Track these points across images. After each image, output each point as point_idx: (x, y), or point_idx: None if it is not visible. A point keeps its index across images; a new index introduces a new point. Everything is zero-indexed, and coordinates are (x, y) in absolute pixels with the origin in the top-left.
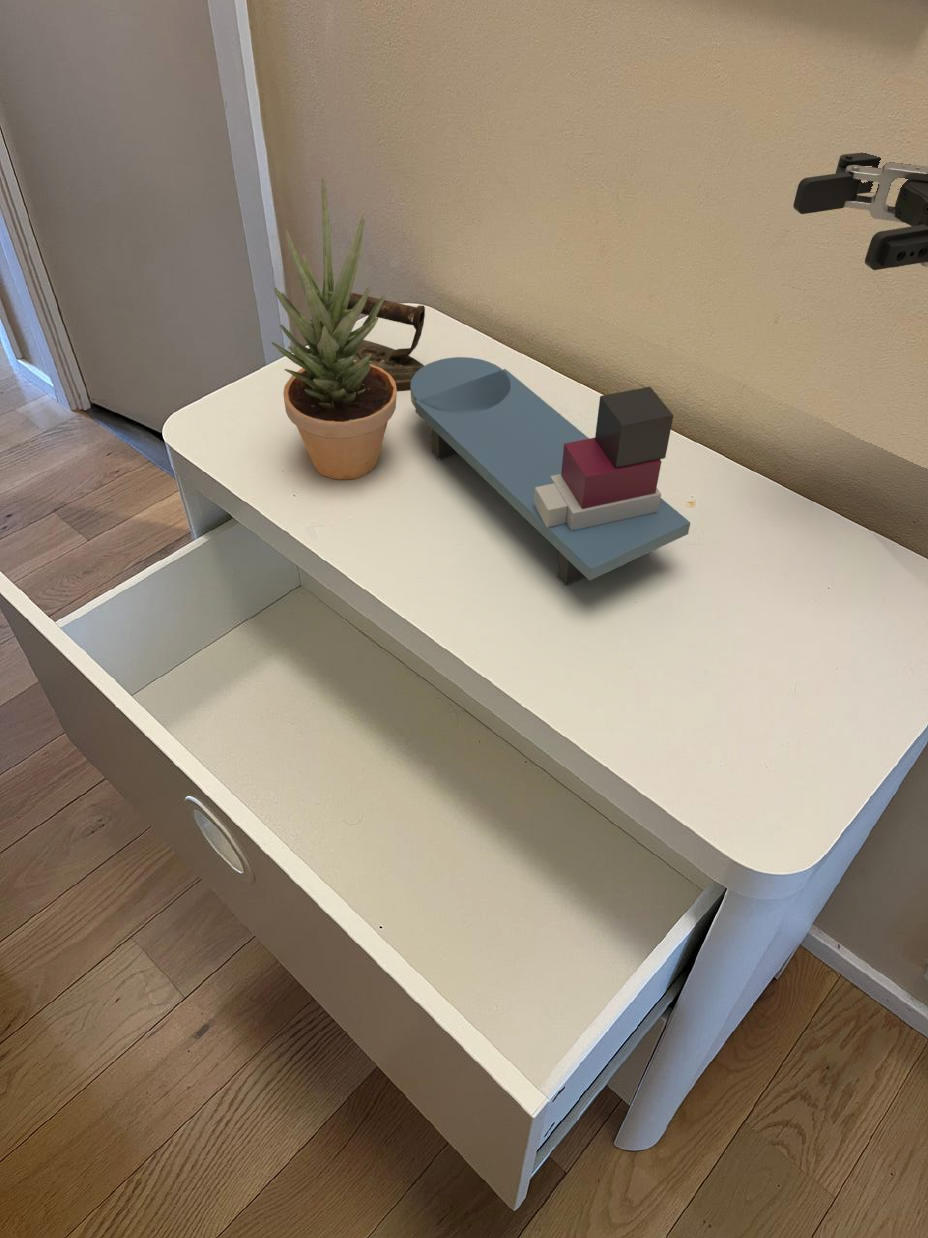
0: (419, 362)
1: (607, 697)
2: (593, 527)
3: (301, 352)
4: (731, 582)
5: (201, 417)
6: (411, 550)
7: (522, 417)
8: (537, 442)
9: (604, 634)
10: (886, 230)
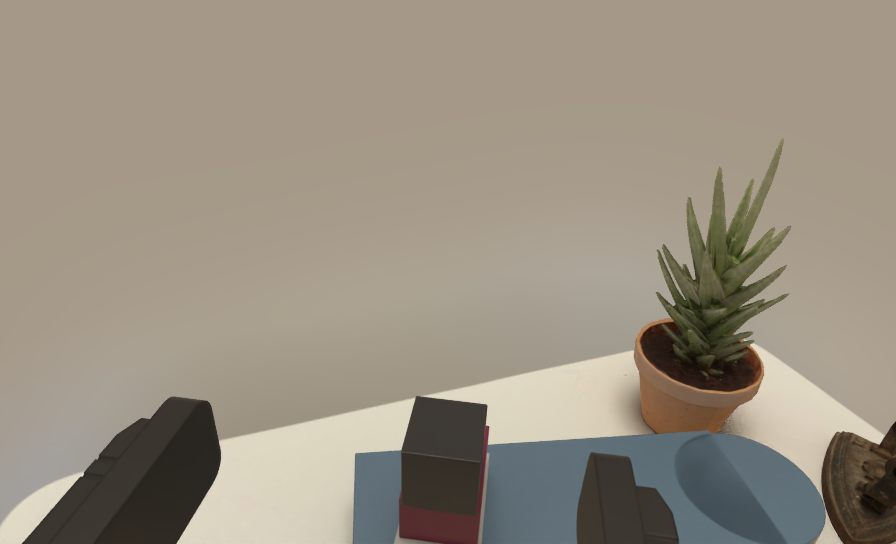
0: (873, 521)
1: (262, 473)
2: None
3: (659, 258)
4: None
5: (758, 352)
6: (520, 419)
7: None
8: None
9: (326, 509)
10: (183, 422)
